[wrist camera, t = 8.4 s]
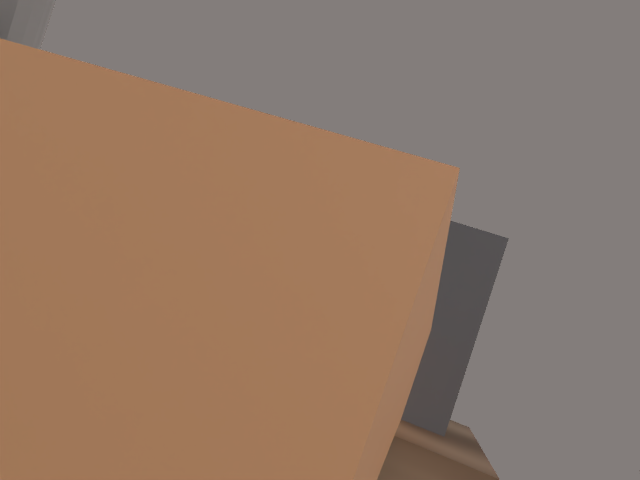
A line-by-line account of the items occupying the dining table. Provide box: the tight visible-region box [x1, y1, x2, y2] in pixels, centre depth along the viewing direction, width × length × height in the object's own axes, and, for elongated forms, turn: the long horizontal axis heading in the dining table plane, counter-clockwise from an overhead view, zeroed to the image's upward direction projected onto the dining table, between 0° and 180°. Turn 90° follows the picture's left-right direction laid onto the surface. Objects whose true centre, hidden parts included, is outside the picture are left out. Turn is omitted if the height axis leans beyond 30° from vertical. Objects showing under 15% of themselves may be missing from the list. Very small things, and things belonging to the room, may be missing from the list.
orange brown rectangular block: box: [0, 38, 508, 480], centre depth 16 cm, size 26×7×8 cm, turn 168°
